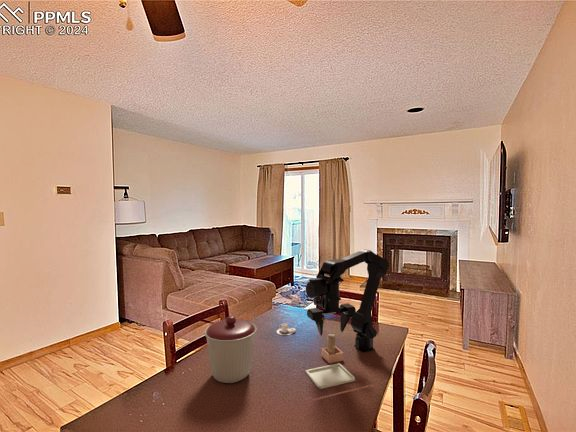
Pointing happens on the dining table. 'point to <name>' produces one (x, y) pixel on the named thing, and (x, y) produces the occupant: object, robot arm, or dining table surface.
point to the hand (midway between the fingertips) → (331, 333)
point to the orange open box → (332, 355)
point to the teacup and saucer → (286, 329)
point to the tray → (330, 375)
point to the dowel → (331, 343)
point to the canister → (230, 348)
